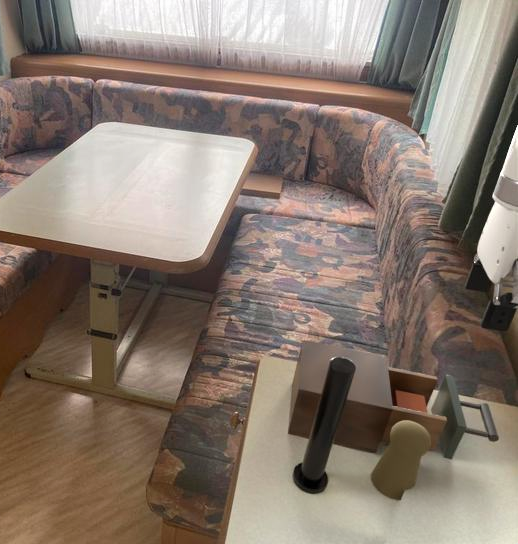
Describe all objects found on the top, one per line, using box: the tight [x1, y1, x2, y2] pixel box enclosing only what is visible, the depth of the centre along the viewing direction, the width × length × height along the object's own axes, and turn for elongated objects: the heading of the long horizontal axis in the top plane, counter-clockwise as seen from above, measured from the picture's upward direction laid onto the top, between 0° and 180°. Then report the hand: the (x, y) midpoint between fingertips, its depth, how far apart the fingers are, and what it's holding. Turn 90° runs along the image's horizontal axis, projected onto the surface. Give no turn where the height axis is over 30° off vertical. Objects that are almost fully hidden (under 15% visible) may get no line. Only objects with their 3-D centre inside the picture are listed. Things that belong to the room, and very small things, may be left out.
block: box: [392, 390, 428, 413], centre depth 91 cm, size 4×4×4 cm
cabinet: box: [287, 339, 393, 455], centre depth 93 cm, size 14×13×10 cm
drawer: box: [380, 366, 500, 460], centre depth 90 cm, size 18×11×8 cm, turn 75°
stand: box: [292, 357, 356, 495], centre depth 78 cm, size 5×5×22 cm
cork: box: [370, 420, 431, 501], centre depth 82 cm, size 6×6×11 cm
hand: (484, 308), depth 79 cm, fingers open, 9 cm apart
